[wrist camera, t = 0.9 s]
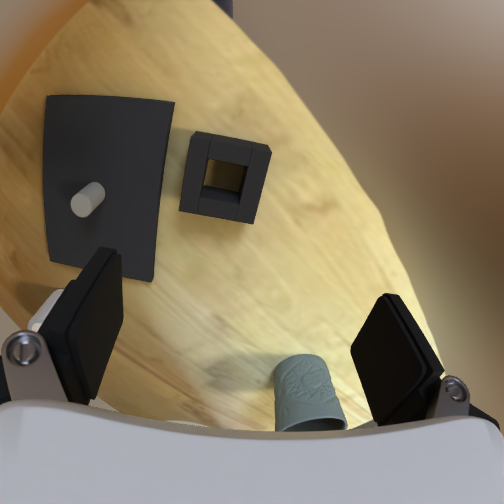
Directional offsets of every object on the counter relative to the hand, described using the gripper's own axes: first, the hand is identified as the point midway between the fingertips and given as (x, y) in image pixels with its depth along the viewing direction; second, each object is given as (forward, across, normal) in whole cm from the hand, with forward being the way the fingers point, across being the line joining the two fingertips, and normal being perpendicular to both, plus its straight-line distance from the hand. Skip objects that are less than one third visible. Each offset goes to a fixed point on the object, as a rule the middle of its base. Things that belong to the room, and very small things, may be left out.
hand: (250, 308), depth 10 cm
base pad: (+21, +14, +5) cm, 26 cm away
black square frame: (+21, +1, +1) cm, 21 cm away
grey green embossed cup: (+22, -15, +29) cm, 40 cm away
